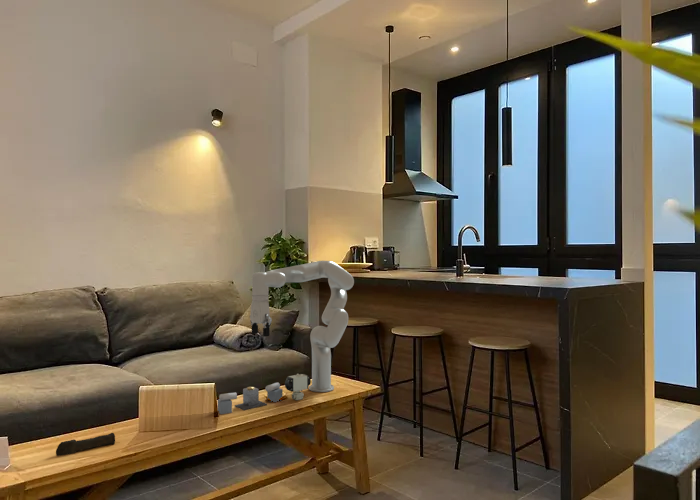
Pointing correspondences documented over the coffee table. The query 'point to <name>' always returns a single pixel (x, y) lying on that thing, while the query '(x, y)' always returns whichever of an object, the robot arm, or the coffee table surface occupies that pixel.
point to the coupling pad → (244, 407)
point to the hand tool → (84, 444)
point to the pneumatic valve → (297, 385)
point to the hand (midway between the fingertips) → (260, 335)
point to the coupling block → (250, 396)
